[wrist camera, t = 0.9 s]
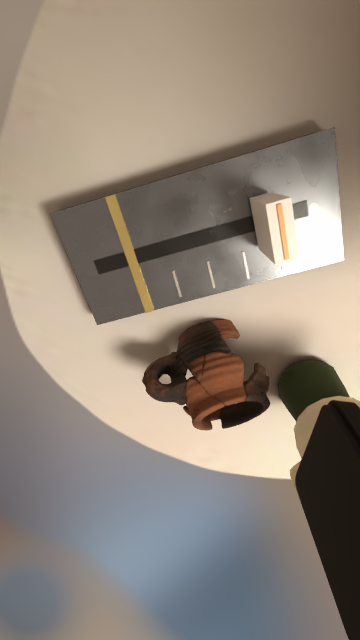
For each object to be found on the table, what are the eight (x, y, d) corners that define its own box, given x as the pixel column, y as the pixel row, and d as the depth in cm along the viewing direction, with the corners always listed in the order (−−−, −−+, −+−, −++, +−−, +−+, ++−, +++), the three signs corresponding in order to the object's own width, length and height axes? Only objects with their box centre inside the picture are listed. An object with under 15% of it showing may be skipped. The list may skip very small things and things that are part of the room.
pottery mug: (261, 310, 32) (297, 386, 27) (233, 361, 39) (258, 428, 35) (138, 319, 29) (154, 406, 24) (133, 372, 36) (144, 448, 32)
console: (323, 130, 25) (335, 127, 23) (333, 254, 29) (344, 260, 27) (58, 210, 28) (49, 214, 26) (101, 316, 32) (96, 325, 30)
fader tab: (270, 191, 25) (291, 197, 20) (278, 243, 27) (299, 259, 22) (249, 198, 25) (265, 204, 20) (258, 248, 27) (275, 265, 22)
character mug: (287, 428, 38) (338, 546, 26) (245, 394, 36) (278, 506, 24) (367, 367, 34) (468, 471, 23) (325, 326, 32) (411, 417, 21)
